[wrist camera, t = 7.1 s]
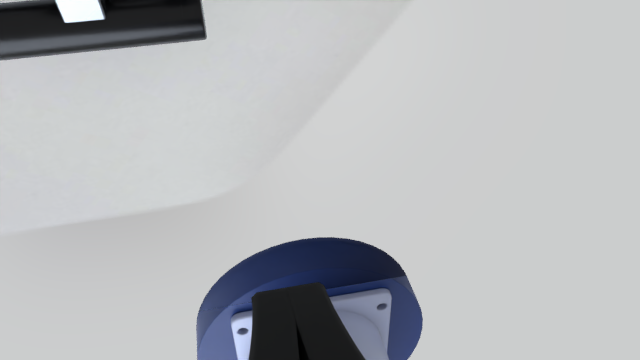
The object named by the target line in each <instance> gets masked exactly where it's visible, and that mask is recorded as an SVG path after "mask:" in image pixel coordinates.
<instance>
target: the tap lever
mask: <svg viewBox="0 0 640 360" xmlns="http://www.w3.org/2000/svg"><path fill="white" fill-rule="evenodd" d="M206 38H207V34H206V26H205V19H204V12H203V6H202V0H32V1H21V2H10V3H0V60H10V59H20V58H29V57H39V56H49V55H59V54H69V53H79V52H89V51H99V50H109V49H118V48H128V47H138V46H148V45H158V44H168V43H178V42H188V41H198V40H205V39H206Z"/></svg>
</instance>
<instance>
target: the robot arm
mask: <svg viewBox="0 0 640 360" xmlns="http://www.w3.org/2000/svg"><path fill="white" fill-rule="evenodd" d="M391 300H392V297H391V294H390V291H389V290H388V289H385V288H379V289H373V290H368V291H362V292H356V293H350V294H344V295H339V296H333V297H329V296H328V294H327V292H326V289H325V287H324V285H322V284H321V283H319V282H317V283H311V284H305V285H299V286H293V287H287V288H281V289H275V290H269V291H263V292H257V293H256V294H255V295H254V296H253V297H252V310H251V311H245V312H240V313H237V314H235V315H234V316H233V317H232V318H231V327H232V332H233V337H234V342H235V347H236V353H237V358H238V360H389V358H388V355H387V347H388V335H389V324H390V312H391Z"/></svg>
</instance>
